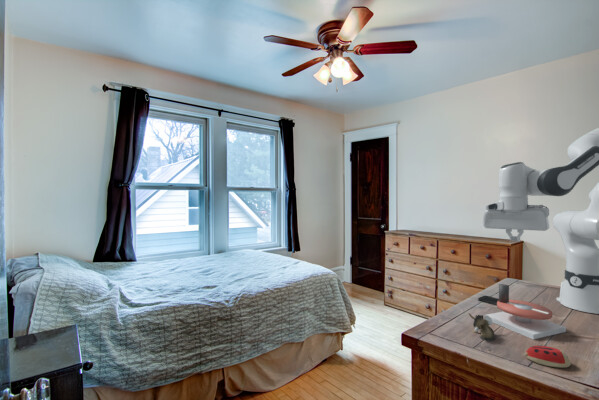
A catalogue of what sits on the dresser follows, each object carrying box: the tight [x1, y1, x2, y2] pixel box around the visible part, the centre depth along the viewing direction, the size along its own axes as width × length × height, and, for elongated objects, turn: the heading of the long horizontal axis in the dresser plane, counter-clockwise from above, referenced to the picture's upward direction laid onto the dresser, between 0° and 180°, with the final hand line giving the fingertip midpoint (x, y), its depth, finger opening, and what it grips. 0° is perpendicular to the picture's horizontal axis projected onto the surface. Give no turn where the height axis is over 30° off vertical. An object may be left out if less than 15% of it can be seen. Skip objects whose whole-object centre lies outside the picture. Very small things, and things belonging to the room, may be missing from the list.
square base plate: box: [486, 311, 567, 340], centre depth 99 cm, size 16×16×4 cm
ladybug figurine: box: [524, 345, 572, 369], centre depth 77 cm, size 7×10×4 cm
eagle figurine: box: [468, 313, 496, 342], centre depth 92 cm, size 8×7×9 cm
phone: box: [477, 295, 499, 307], centre depth 119 cm, size 8×1×15 cm
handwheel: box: [496, 283, 553, 320], centre depth 99 cm, size 15×15×7 cm
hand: (514, 241), depth 110 cm, fingers closed
